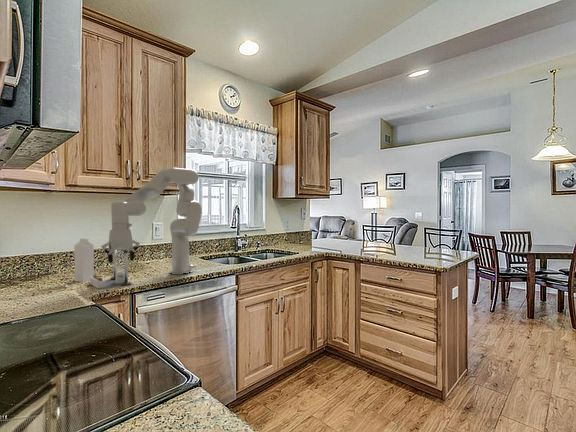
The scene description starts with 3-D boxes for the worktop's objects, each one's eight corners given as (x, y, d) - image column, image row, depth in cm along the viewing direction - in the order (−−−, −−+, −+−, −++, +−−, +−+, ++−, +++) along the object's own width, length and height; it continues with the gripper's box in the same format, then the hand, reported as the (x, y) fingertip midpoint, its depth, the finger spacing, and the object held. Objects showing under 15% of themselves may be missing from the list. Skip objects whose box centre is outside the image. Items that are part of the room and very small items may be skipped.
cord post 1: (118, 278, 170) (117, 245, 170) (120, 279, 168) (120, 246, 167) (109, 279, 168) (109, 246, 167) (111, 280, 165) (111, 246, 164)
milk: (85, 280, 169) (85, 238, 169) (94, 281, 167) (94, 238, 166) (74, 283, 163) (74, 239, 163) (82, 284, 161) (82, 239, 161)
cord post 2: (129, 283, 158) (129, 248, 158) (132, 285, 155) (131, 249, 155) (120, 284, 155) (120, 249, 155) (123, 286, 152) (122, 250, 152)
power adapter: (116, 280, 165) (116, 268, 165) (126, 279, 167) (126, 268, 167) (114, 284, 155) (114, 272, 155) (125, 284, 157) (125, 271, 157)
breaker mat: (120, 279, 171) (120, 270, 171) (134, 286, 156) (134, 276, 156) (87, 284, 161) (87, 274, 161) (99, 292, 146) (99, 281, 145)
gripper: (136, 225, 170) (136, 258, 170) (98, 227, 158) (99, 262, 158) (141, 226, 164) (142, 259, 165) (103, 228, 152) (104, 264, 153)
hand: (121, 261), depth 162 cm, fingers open, 9 cm apart
